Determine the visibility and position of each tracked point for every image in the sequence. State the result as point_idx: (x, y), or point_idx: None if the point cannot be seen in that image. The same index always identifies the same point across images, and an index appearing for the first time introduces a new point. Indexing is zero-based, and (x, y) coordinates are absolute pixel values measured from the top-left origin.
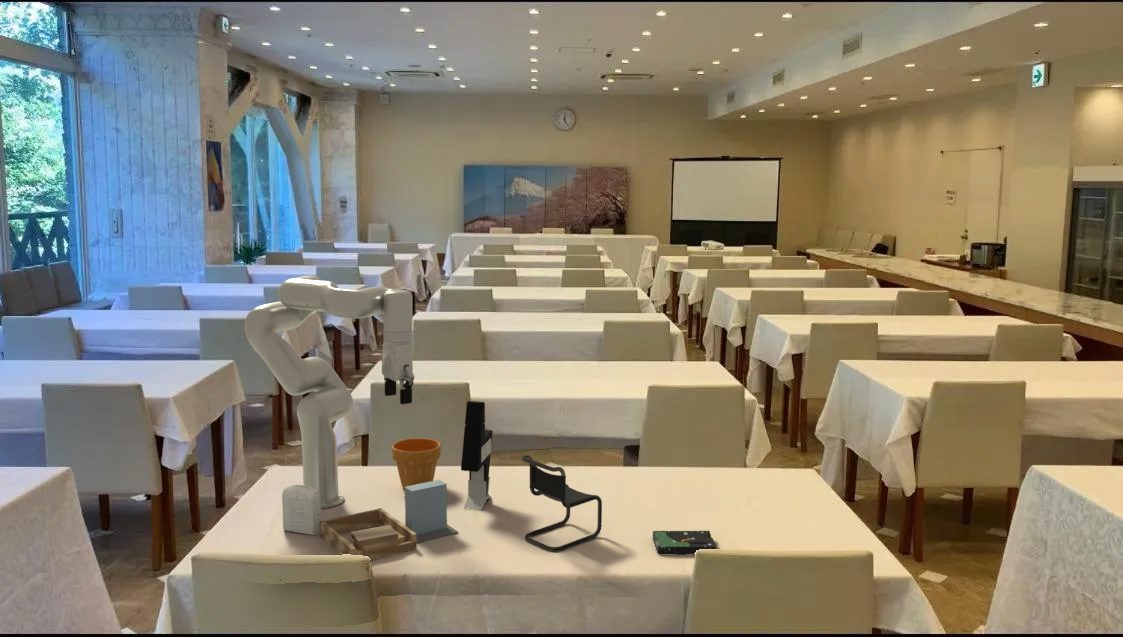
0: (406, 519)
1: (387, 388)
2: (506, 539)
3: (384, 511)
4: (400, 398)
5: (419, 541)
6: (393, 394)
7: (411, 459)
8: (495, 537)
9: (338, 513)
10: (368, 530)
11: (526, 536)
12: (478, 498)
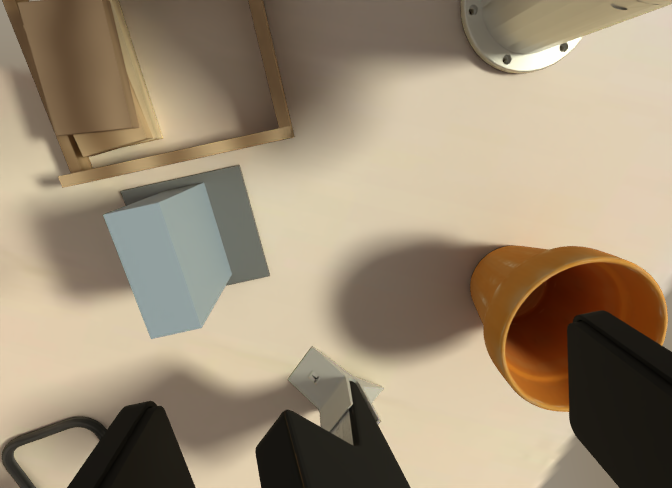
0: (187, 188)
1: (643, 395)
2: (97, 382)
3: (262, 141)
4: (102, 454)
5: (123, 198)
6: (573, 404)
7: (501, 295)
8: (115, 365)
9: (407, 33)
10: (99, 54)
11: (78, 423)
12: (323, 392)
